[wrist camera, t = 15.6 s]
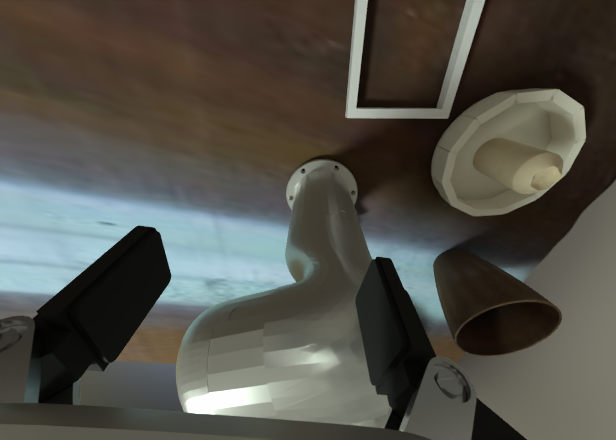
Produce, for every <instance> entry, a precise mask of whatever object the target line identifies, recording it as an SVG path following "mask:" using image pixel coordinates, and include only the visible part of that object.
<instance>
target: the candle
mask: <svg viewBox="0 0 616 440" xmlns="http://www.w3.org/2000/svg"><path fill="white" fill-rule="evenodd" d="M473 165H474V167H475V169H476V170H478V171H479V172H481V173H482V174H484V175H486V176H488V177H490V178H492V179H494V180H495V181H497V182H499V183H501V184H503V185H505V186H506V187H508V188H510V189H512V190H514V191H516V192H518V193H520V194H533V193H536V192H539V191H542V190H545V189H548V188H549V187H550V186H551V185H552V184H553V183H555V182H557V181H559V180H560V179H561V178H562V169H563V160H562V158H561V156H560V155H558V154H556V153H553V152H549V151H546V150H543V149H539V148H536V147H532V146H529V145H525V144H522V143H519V142H515V141H512V140H508V139H504V138H495V139H492V140H489V141H487V142H486V143H484V144H483V145H482V146H481V147H480V148H479V149H478V150H477V151H476V153H475V155H474V158H473Z"/></svg>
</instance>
